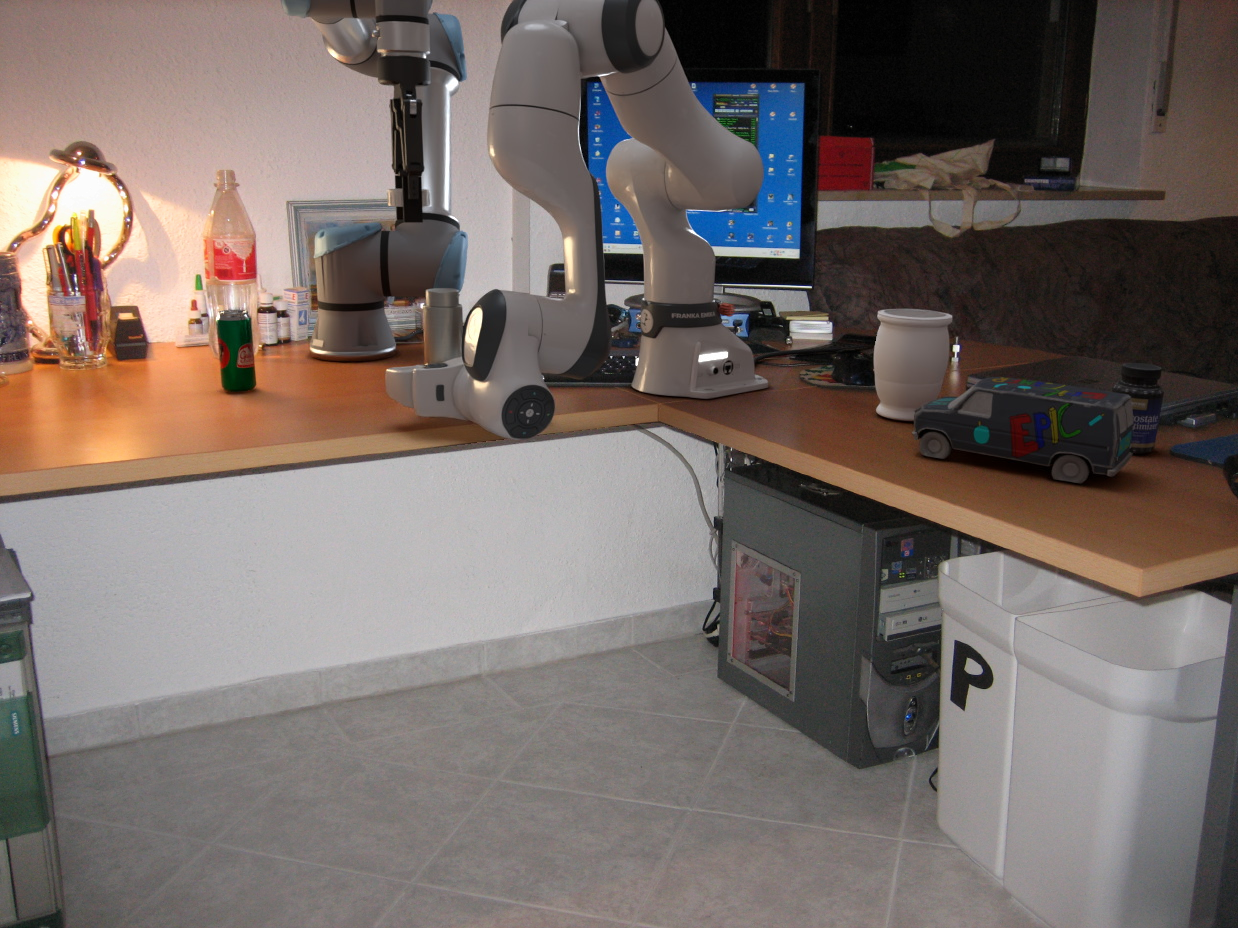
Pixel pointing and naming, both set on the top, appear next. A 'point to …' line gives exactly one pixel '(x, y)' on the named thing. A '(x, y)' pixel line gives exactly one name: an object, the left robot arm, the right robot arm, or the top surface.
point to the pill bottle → (1142, 402)
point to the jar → (910, 360)
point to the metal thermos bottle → (442, 325)
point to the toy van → (1032, 426)
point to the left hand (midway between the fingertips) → (409, 220)
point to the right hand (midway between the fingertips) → (441, 368)
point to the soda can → (236, 350)
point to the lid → (397, 197)
